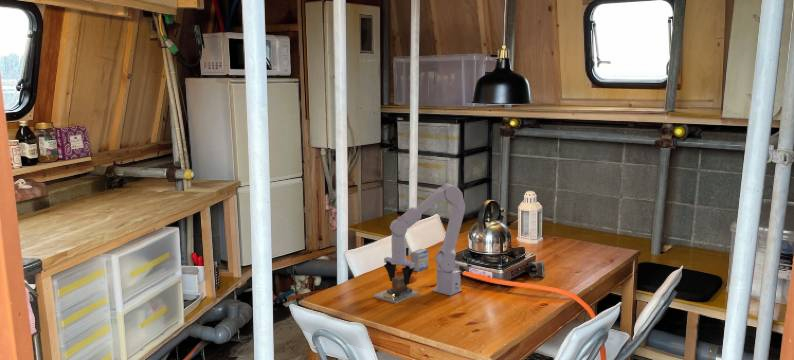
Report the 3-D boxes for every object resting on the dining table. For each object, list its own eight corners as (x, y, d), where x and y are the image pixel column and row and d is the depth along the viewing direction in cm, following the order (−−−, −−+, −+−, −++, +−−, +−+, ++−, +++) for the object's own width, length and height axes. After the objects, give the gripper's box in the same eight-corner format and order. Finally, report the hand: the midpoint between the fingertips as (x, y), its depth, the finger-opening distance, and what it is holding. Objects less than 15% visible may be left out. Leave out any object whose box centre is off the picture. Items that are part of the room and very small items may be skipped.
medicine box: (418, 272, 278) (418, 253, 277) (410, 270, 281) (410, 252, 280) (428, 267, 284) (428, 249, 283) (420, 266, 287) (420, 248, 286)
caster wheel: (526, 276, 278) (548, 275, 274) (521, 278, 267) (544, 276, 263) (524, 261, 278) (546, 260, 275) (519, 262, 268) (542, 261, 264)
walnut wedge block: (407, 291, 248) (406, 277, 247) (399, 294, 245) (398, 279, 244) (400, 289, 251) (400, 275, 250) (392, 292, 247) (392, 278, 246)
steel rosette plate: (418, 294, 248) (418, 288, 247) (396, 303, 237) (396, 298, 237) (396, 288, 255) (396, 283, 255) (373, 297, 245) (373, 291, 245)
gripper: (378, 249, 247) (379, 281, 249) (406, 254, 237) (407, 288, 239) (390, 245, 252) (391, 277, 254) (417, 250, 243) (418, 283, 245)
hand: (399, 282), depth 247 cm, fingers open, 7 cm apart
